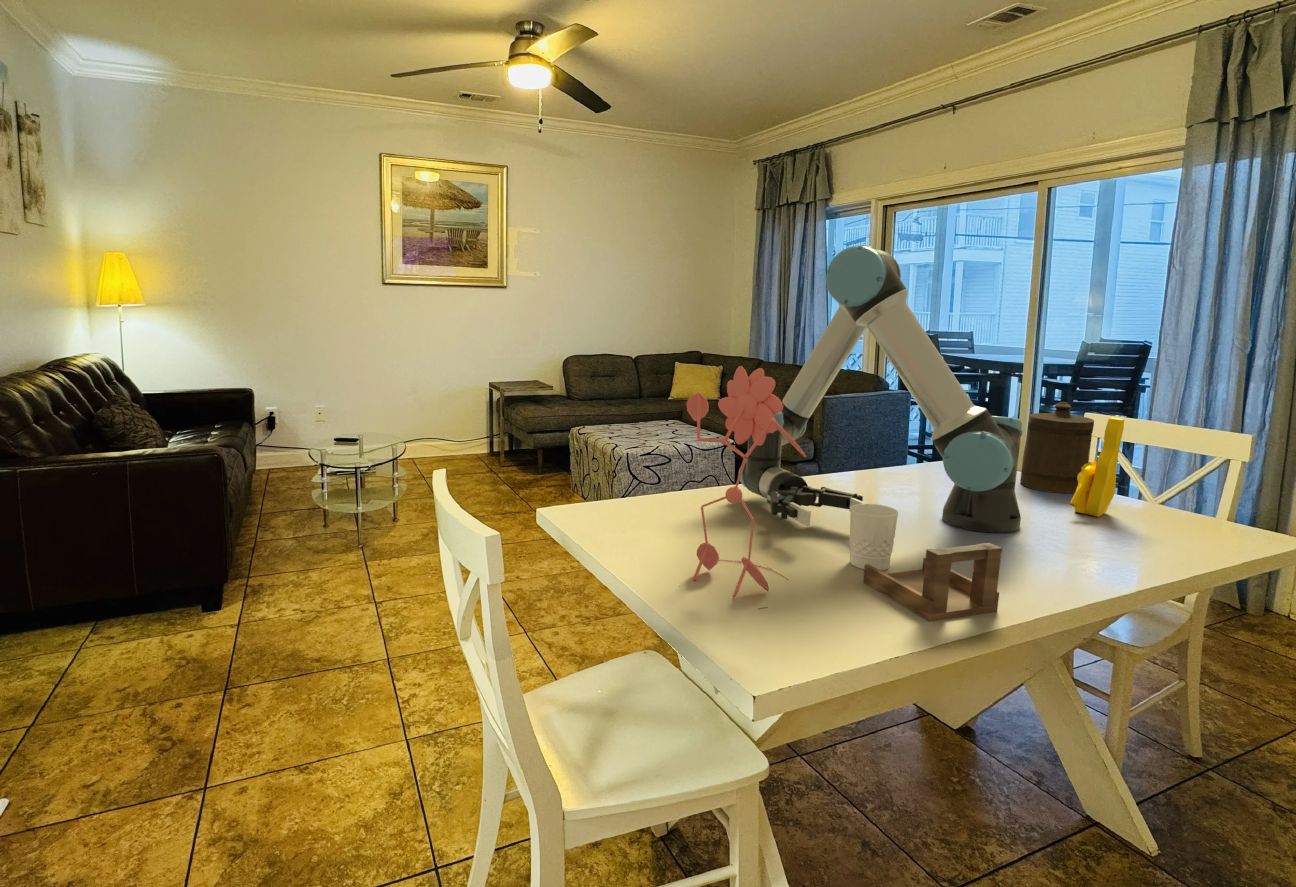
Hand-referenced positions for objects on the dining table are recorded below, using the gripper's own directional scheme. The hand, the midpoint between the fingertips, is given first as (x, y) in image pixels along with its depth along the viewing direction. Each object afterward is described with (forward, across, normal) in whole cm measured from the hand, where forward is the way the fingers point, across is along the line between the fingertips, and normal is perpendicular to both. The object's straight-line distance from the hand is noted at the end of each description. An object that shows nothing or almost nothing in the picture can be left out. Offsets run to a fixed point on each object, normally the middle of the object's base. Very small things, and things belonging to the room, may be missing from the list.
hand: (840, 516), depth 140 cm
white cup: (+10, 0, -6) cm, 12 cm away
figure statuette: (-5, -69, -6) cm, 70 cm away
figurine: (+10, +25, -6) cm, 28 cm away
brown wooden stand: (+25, 0, -6) cm, 25 cm away
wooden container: (-28, -82, -6) cm, 87 cm away
